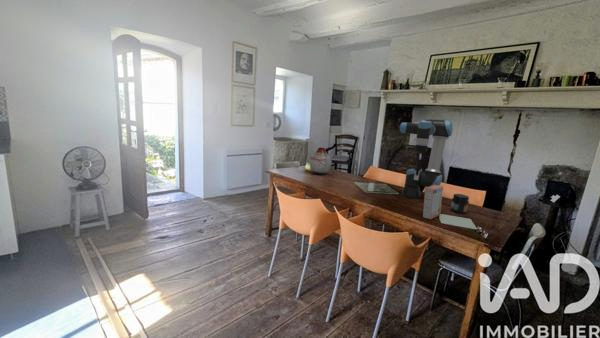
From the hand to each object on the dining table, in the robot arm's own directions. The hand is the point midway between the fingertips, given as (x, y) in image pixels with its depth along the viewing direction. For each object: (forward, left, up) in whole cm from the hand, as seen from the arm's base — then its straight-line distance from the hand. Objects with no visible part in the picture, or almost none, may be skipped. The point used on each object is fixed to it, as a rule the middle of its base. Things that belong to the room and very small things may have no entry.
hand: (415, 179), depth 177 cm
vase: (-75, -89, -24) cm, 119 cm away
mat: (0, +28, -24) cm, 37 cm away
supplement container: (-23, +33, -24) cm, 47 cm away
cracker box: (0, +13, -24) cm, 27 cm away
